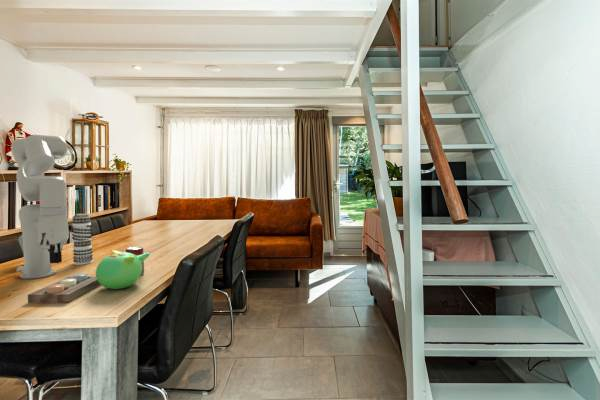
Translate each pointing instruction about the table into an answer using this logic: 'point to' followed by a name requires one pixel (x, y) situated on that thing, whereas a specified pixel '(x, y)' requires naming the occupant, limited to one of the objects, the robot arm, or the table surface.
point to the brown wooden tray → (64, 292)
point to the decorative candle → (82, 239)
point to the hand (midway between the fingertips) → (55, 262)
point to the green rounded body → (120, 269)
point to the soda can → (136, 252)
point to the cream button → (68, 282)
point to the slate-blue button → (80, 277)
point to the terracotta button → (55, 289)
